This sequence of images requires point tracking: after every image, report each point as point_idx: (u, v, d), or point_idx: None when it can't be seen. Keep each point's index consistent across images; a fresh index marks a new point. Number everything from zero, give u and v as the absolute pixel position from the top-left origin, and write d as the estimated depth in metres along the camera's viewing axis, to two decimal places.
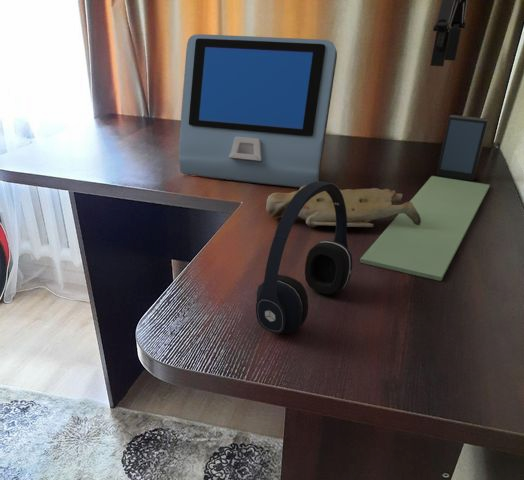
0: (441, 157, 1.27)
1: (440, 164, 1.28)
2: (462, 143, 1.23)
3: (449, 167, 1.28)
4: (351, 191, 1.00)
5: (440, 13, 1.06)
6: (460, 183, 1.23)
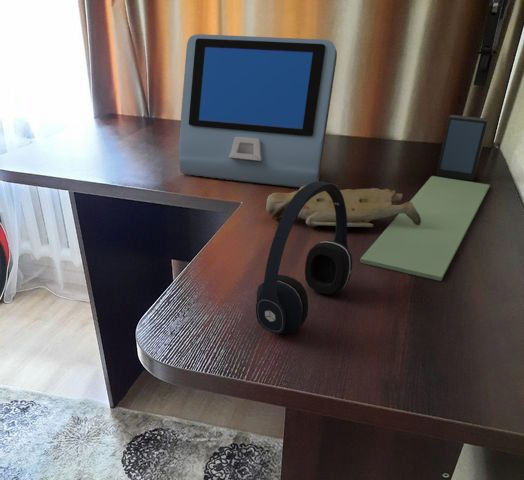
0: (441, 157, 1.27)
1: (440, 164, 1.28)
2: (462, 143, 1.23)
3: (449, 167, 1.28)
4: (351, 191, 1.00)
5: (484, 40, 1.15)
6: (460, 183, 1.23)
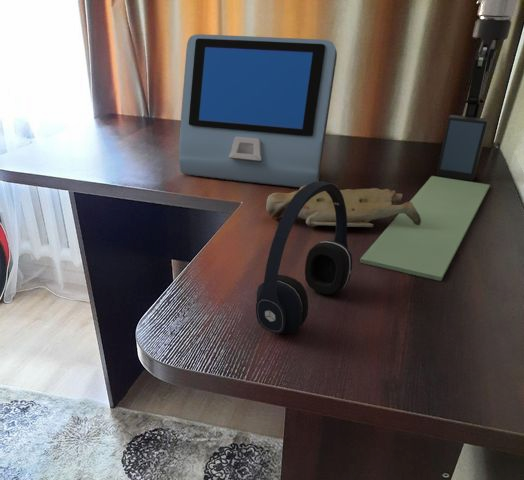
0: (441, 157, 1.27)
1: (440, 164, 1.28)
2: (462, 143, 1.23)
3: (449, 167, 1.28)
4: (351, 191, 1.00)
5: (470, 90, 1.17)
6: (460, 183, 1.23)
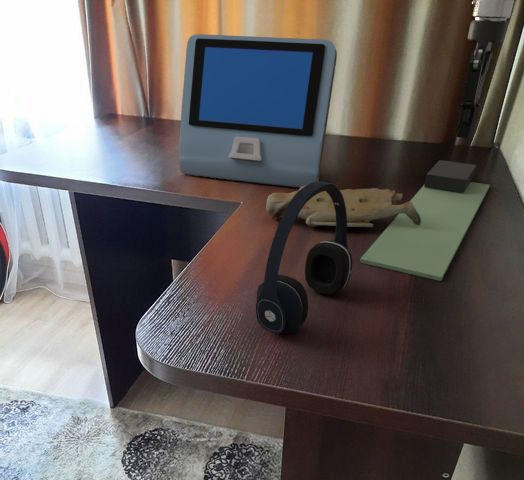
0: None
1: None
2: None
3: None
4: (351, 191, 1.00)
5: (465, 94, 1.13)
6: None
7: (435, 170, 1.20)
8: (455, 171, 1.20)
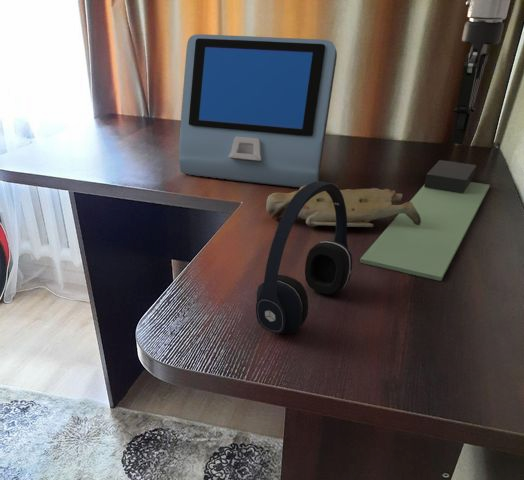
0: None
1: None
2: None
3: None
4: (351, 191, 1.00)
5: (459, 99, 1.08)
6: None
7: (435, 170, 1.20)
8: (455, 171, 1.20)
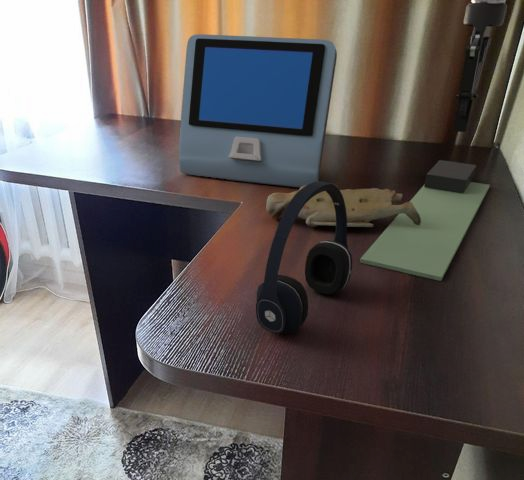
0: None
1: None
2: None
3: None
4: (351, 191, 1.00)
5: (462, 84, 1.04)
6: None
7: (435, 170, 1.20)
8: (455, 171, 1.20)
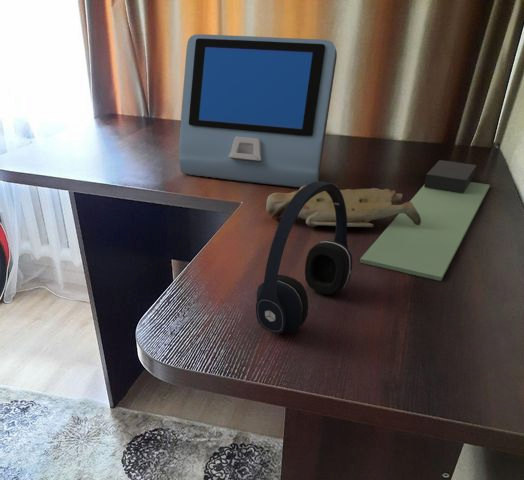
0: None
1: None
2: None
3: None
4: (351, 191, 1.00)
5: None
6: None
7: (435, 170, 1.20)
8: (455, 171, 1.20)
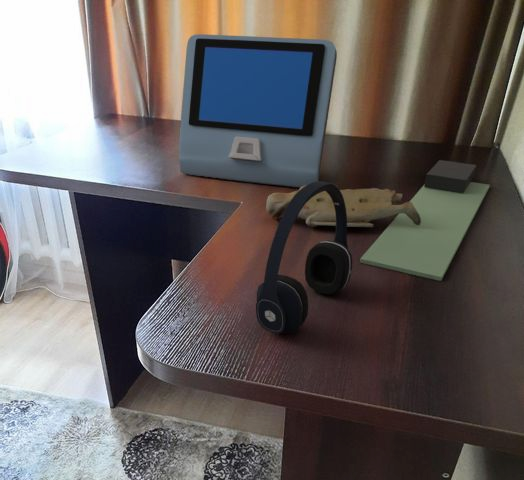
0: None
1: None
2: None
3: None
4: (351, 191, 1.00)
5: None
6: None
7: (435, 170, 1.20)
8: (455, 171, 1.20)
